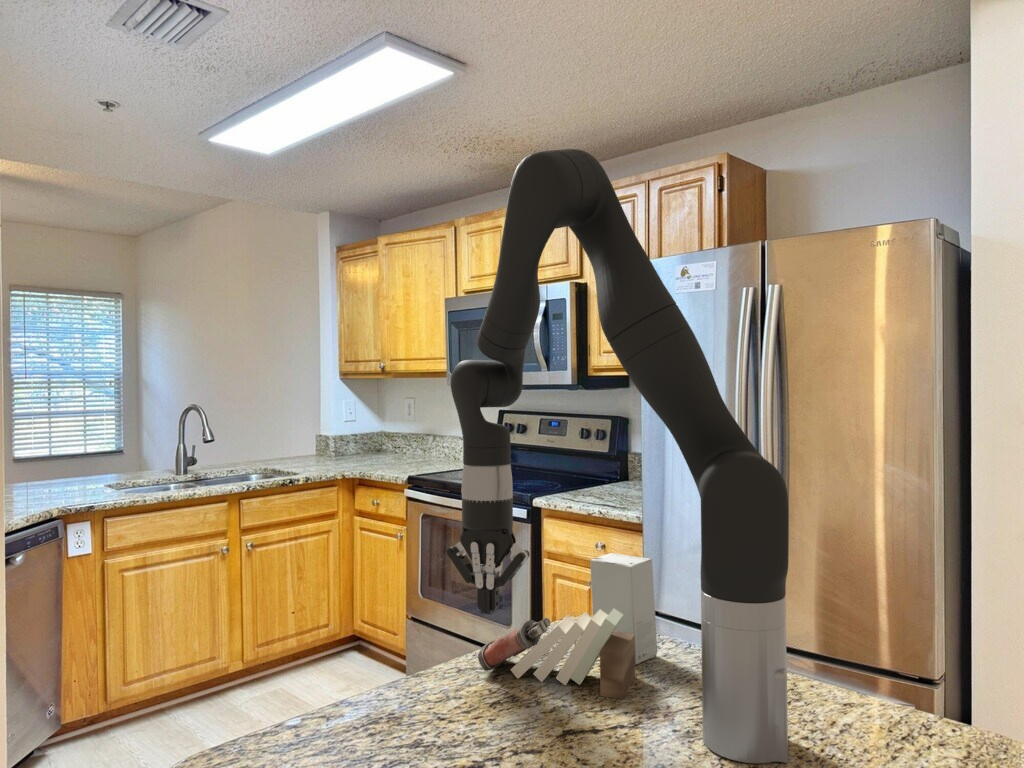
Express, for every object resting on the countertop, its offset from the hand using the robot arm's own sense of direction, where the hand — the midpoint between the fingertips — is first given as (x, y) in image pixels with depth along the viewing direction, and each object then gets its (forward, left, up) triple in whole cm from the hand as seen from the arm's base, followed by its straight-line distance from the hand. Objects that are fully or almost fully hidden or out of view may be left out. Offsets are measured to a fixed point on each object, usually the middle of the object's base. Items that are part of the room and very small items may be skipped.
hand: (488, 612), depth 104 cm
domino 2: (-8, 0, -8) cm, 11 cm away
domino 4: (-14, 0, -7) cm, 16 cm away
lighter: (0, 0, -7) cm, 7 cm away
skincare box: (-17, -12, -8) cm, 23 cm away
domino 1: (-5, 0, -7) cm, 9 cm away
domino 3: (-12, 0, -8) cm, 14 cm away
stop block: (-19, 0, -8) cm, 21 cm away
